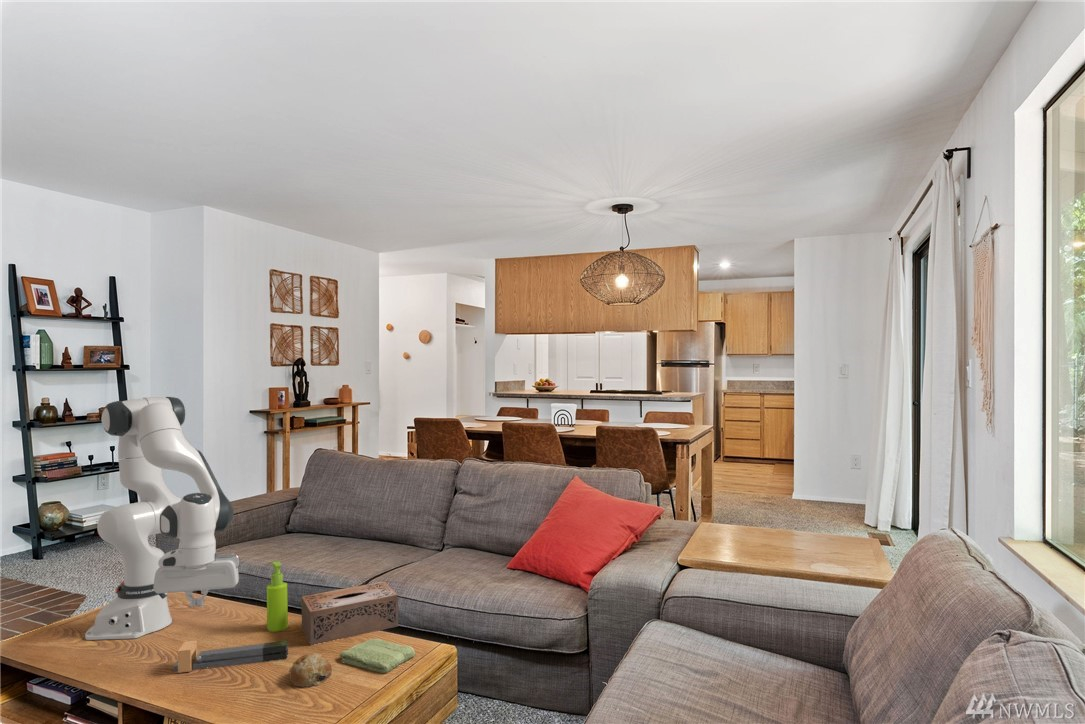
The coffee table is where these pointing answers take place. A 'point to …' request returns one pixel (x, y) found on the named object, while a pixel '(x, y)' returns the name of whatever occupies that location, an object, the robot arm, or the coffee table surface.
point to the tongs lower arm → (236, 660)
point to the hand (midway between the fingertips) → (197, 606)
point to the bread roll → (310, 670)
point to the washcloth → (377, 655)
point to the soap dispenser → (277, 601)
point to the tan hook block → (186, 655)
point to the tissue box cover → (349, 612)
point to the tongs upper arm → (242, 651)
